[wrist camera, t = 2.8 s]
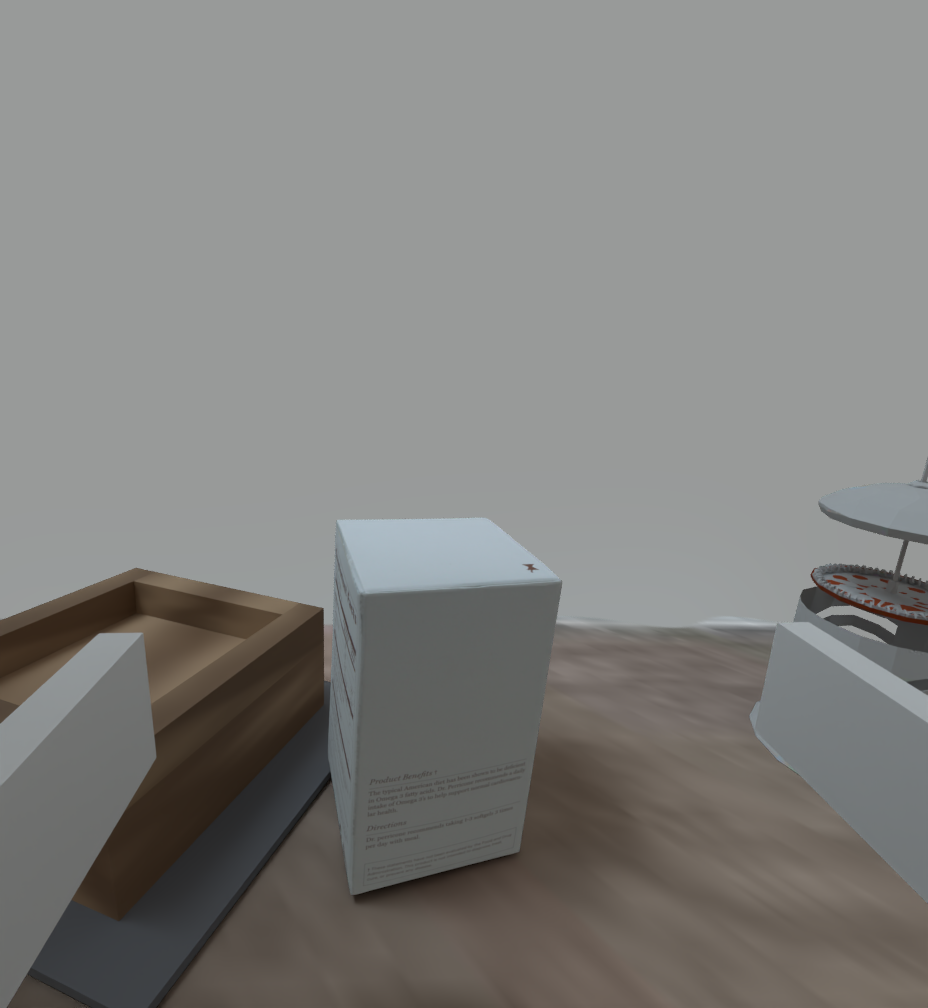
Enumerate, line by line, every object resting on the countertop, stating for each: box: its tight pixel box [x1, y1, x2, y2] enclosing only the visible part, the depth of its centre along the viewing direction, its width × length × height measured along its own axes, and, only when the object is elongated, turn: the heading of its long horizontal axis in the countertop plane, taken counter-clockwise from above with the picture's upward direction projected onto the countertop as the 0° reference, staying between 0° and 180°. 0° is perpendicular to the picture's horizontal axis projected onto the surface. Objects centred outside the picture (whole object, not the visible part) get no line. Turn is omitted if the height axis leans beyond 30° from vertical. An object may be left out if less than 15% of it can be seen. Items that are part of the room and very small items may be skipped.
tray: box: [0, 568, 324, 921], centre depth 25 cm, size 13×13×6 cm
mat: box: [27, 681, 331, 1008], centre depth 26 cm, size 19×17×1 cm
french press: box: [749, 458, 928, 774], centre depth 27 cm, size 10×12×25 cm
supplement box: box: [328, 518, 562, 895], centre depth 23 cm, size 7×7×13 cm
